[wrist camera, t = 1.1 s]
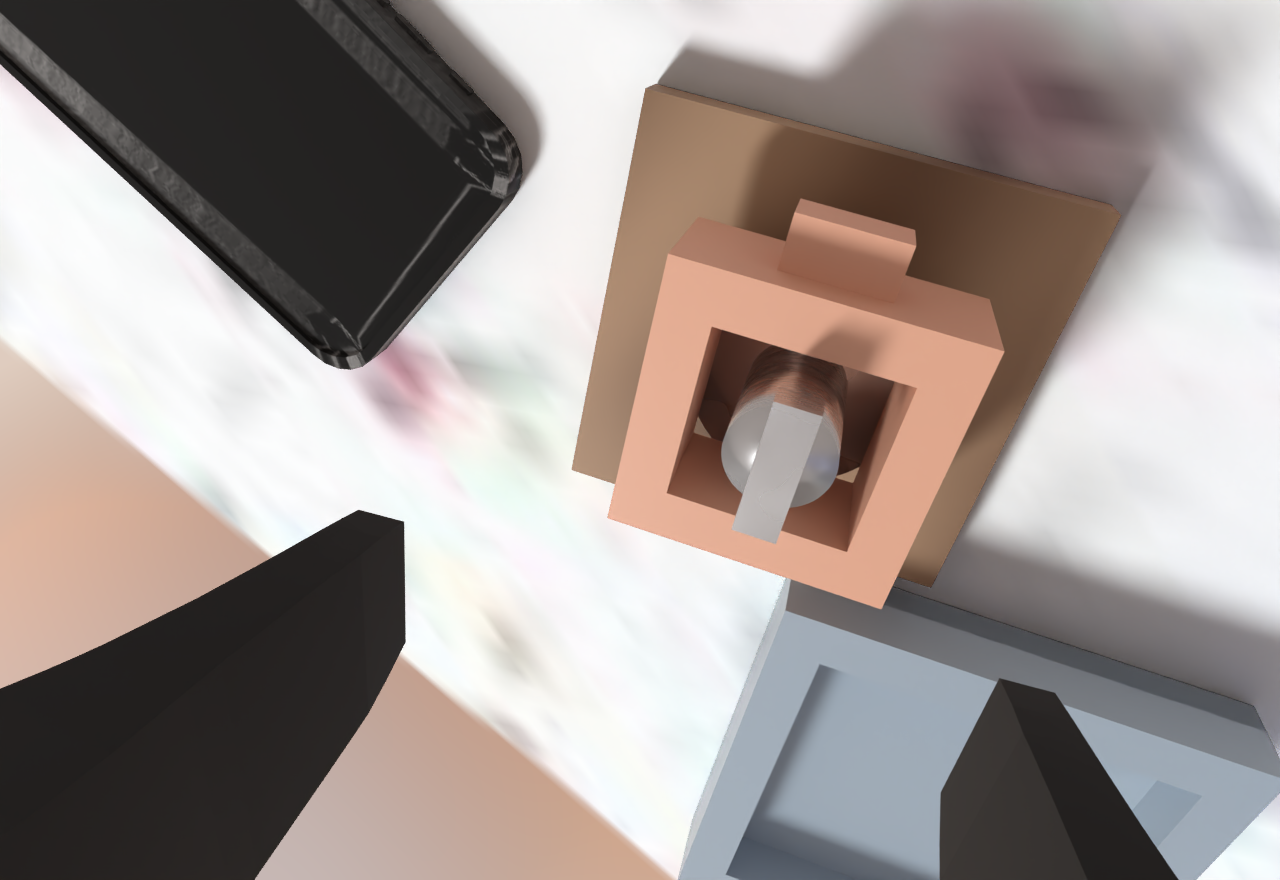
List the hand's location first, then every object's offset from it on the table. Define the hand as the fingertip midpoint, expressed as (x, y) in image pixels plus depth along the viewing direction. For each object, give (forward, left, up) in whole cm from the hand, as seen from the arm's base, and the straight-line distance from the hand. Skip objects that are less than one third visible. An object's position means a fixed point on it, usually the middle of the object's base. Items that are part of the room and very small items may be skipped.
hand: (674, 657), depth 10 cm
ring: (-1, 0, -8) cm, 8 cm away
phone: (+14, -3, -11) cm, 18 cm away
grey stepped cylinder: (-1, 0, -10) cm, 10 cm away
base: (-1, 0, -10) cm, 10 cm away
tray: (-8, +11, -10) cm, 17 cm away
